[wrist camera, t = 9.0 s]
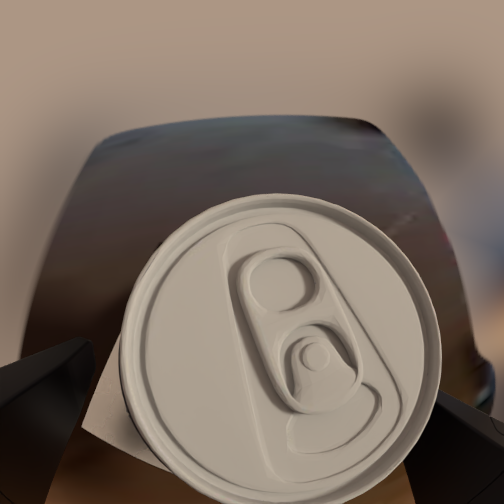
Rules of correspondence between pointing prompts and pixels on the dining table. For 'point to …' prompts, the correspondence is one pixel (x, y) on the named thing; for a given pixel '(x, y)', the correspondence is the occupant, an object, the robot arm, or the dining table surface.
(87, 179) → the dining table surface
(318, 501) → the beverage can
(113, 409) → the collar seat
